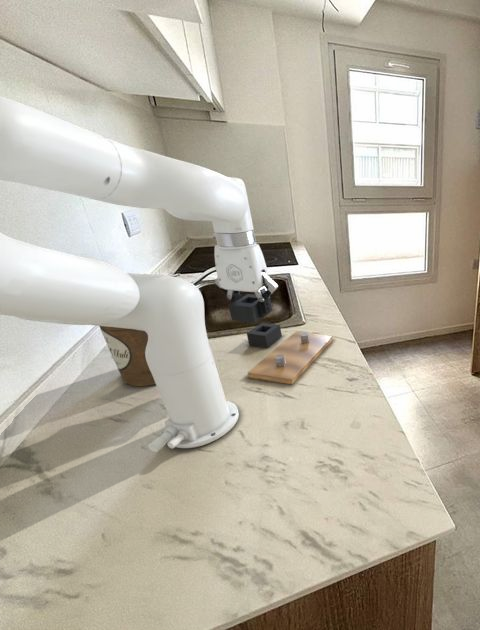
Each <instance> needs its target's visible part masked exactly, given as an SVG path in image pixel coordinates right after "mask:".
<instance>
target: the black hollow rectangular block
mask: <svg viewBox="0 0 480 630" xmlns="http://www.w3.org/2000/svg"><path fill="white" fill-rule="evenodd" d="M268 301H269V306H270V313H272V312H273V305H272V302H271V301H272V300H271V297H270V298H268ZM257 302H259V300H258V298H257V296H256V295H255V293H247V294H245V295H242V297H241V298H240V299H238V300H236V301H234V302H232V303H229V304H228V310H229V313H230V318H231V321H234V322H243V323H251V324H252V323H253V324H255V323H257V322H259V321H260V320H261V319H262V318H261V317H260V315H259V310H258V305H257Z"/></svg>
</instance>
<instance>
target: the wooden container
mask: <svg viewBox="0 0 480 630" xmlns="http://www.w3.org/2000/svg"><path fill="white" fill-rule="evenodd" d="M98 327H99V329H100V331H101V334H102V336H103V338H104V341H105V344H106V345H107V348H108V350H109V352H110V355H111V357H112V359H113V361H114V364H115V365H116V368H117V369H118V372H119V374H120V376H121V378H122V380H123V382H124V383H125V384H127V385H129V386H135V387H144V386H145V387H146V386H152V385H156V383H155V381H154V378H153V376H152V373H151V371H150V369H149V367H148V364H147V361H146V357H145V350H146V346H147V342H148V334H147V333H146V332H145V331H142V330H136V329H127V328H117V327H107V326H98Z"/></svg>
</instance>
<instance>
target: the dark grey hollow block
mask: <svg viewBox="0 0 480 630" xmlns="http://www.w3.org/2000/svg"><path fill="white" fill-rule="evenodd" d="M246 337H247V341H248V346H251V347H259V348H265V349H269V348H270V347H271V346H273V345H274V343H276V342H278V340H280V339H281V338H282V337H283V335H282V329H281V325H280V324H275V323H268V322H261V323H259V324H258V325H256V326H255V327H253V328H252V329H251V330H249V331H247V332H246Z"/></svg>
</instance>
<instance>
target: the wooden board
mask: <svg viewBox="0 0 480 630" xmlns="http://www.w3.org/2000/svg"><path fill="white" fill-rule="evenodd" d="M333 341H334V339H333V336H332V335H325V334H318V333H310V332H308V331H307V332H306V331H305V332H304V331H295V332H293V333H292V334H291V335H290V336H289V337H287V338H286V339H285V340H284V341H282V343H280V344H279V345H278V346H277V347H276V348H275V349H273V350H272V351H271V352H269V354H268V355H266V356H265V357H264V358H263V359H262V360H260V361H259V362H258V363H257V364H255V366H253V368H251V369H250V370H248V371H247V376H248V378H250V379H256V380H261V381H269V382H275V383H282V384H288V385H294V383H296V381H297V380H298V379H299V378H300V377H301V375H303V374H304V372H305V371H306V370H307V369H308V368H309V367H310V366H311V365H312V364H313V362H315V361H316V359H317V358H318V357H319V356H320V355H321V354H322V353H323V352H324V351H325V350H326V349H327V348H328V346H330V344H331V343H332V342H333Z"/></svg>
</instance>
